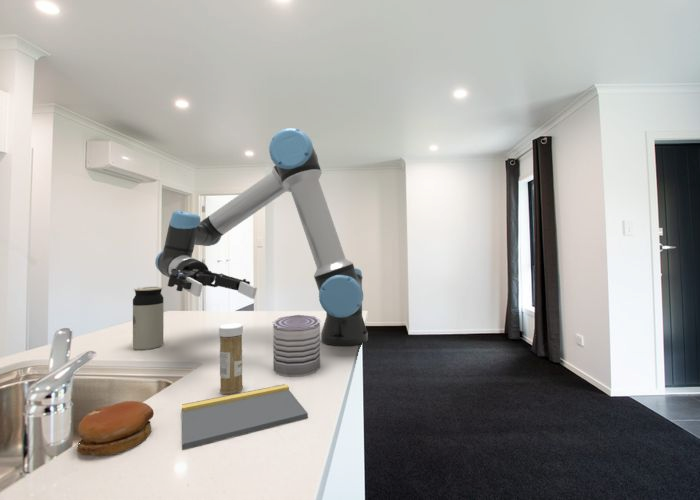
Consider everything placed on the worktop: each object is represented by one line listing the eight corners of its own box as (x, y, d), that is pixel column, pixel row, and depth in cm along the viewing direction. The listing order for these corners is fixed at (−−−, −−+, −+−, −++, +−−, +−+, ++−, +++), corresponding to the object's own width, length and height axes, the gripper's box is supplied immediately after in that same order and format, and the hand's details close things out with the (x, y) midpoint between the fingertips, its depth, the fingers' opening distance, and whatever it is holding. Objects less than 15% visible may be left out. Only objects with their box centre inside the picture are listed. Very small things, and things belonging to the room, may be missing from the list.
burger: (143, 451, 46) (143, 419, 46) (62, 466, 43) (62, 431, 43) (159, 419, 56) (159, 391, 56) (93, 429, 53) (93, 400, 53)
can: (325, 362, 84) (325, 315, 84) (311, 379, 73) (311, 325, 73) (284, 359, 86) (284, 314, 86) (264, 375, 75) (264, 323, 75)
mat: (284, 388, 68) (284, 381, 68) (307, 417, 55) (307, 409, 55) (182, 408, 59) (182, 400, 59) (182, 449, 47) (182, 439, 47)
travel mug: (165, 342, 104) (165, 286, 104) (160, 348, 97) (160, 288, 97) (136, 344, 101) (136, 287, 102) (129, 351, 94) (129, 289, 94)
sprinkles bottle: (245, 391, 66) (245, 325, 66) (222, 397, 64) (222, 328, 64) (239, 384, 70) (239, 321, 70) (216, 389, 67) (216, 324, 67)
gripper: (228, 288, 97) (269, 308, 83) (133, 282, 78) (167, 307, 64) (234, 263, 97) (276, 280, 83) (140, 251, 78) (175, 270, 64)
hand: (229, 291), depth 74 cm, fingers open, 13 cm apart
